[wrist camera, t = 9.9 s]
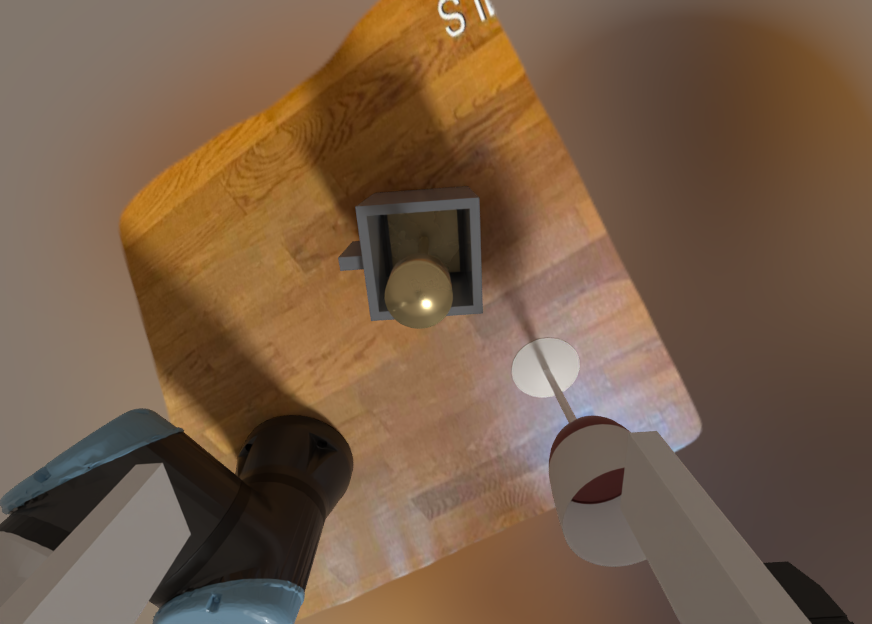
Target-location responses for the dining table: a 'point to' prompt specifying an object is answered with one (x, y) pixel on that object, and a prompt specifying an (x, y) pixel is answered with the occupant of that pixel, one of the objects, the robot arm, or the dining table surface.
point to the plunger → (422, 266)
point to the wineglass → (581, 460)
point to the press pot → (377, 248)
